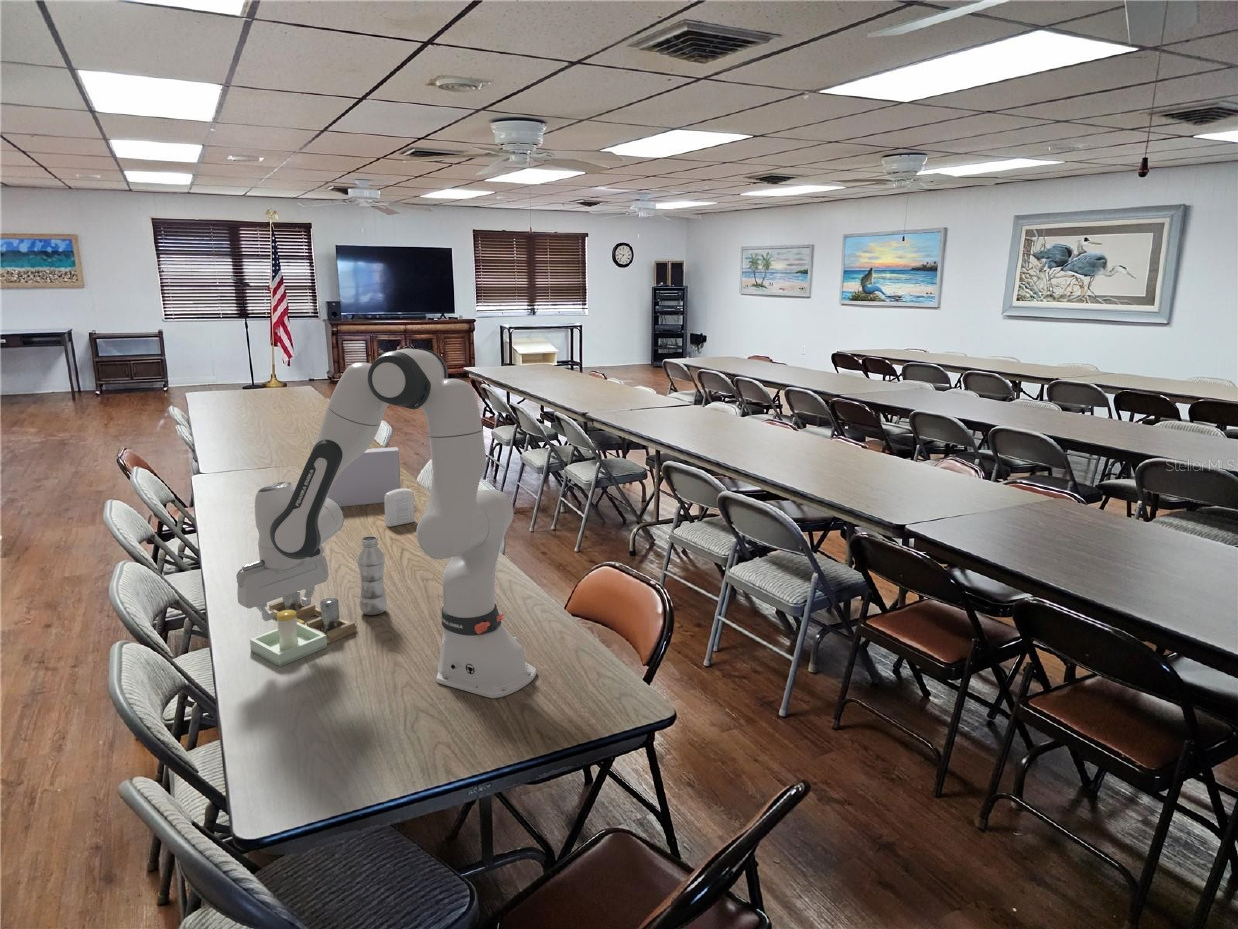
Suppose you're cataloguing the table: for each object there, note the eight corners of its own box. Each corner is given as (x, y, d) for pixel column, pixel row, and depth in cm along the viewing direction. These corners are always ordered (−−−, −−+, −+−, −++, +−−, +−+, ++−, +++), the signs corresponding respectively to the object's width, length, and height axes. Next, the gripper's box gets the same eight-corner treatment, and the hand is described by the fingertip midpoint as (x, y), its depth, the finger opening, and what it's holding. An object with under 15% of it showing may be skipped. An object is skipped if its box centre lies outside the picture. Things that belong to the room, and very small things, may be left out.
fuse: (302, 645, 173) (299, 613, 172) (285, 652, 170) (283, 619, 168) (292, 640, 176) (289, 608, 174) (275, 646, 172) (272, 614, 171)
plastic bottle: (359, 609, 195) (354, 535, 190) (386, 605, 197) (382, 533, 192) (360, 619, 189) (355, 544, 184) (388, 616, 191) (384, 541, 186)
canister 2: (343, 631, 182) (341, 600, 180) (329, 637, 179) (326, 606, 177) (333, 626, 185) (331, 596, 183) (319, 632, 181) (316, 602, 179)
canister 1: (304, 613, 191) (302, 584, 189) (290, 619, 188) (287, 589, 186) (295, 609, 193) (293, 580, 191) (281, 614, 190) (278, 585, 188)
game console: (323, 504, 280) (319, 451, 275) (398, 497, 291) (396, 446, 286) (324, 508, 275) (320, 455, 270) (401, 501, 286) (399, 450, 281)
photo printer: (410, 519, 266) (409, 485, 263) (416, 522, 263) (415, 488, 260) (383, 525, 259) (381, 490, 256) (389, 528, 256) (387, 493, 253)
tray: (326, 647, 175) (326, 635, 174) (280, 667, 165) (278, 654, 165) (297, 633, 181) (296, 621, 180) (250, 651, 172) (249, 639, 171)
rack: (356, 631, 182) (356, 622, 182) (328, 643, 176) (327, 633, 176) (296, 604, 196) (295, 595, 196) (268, 614, 190) (267, 605, 189)
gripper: (243, 571, 157) (251, 633, 160) (329, 544, 174) (334, 600, 177) (227, 565, 161) (235, 625, 164) (313, 539, 177) (318, 594, 180)
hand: (287, 612), depth 171 cm, fingers open, 8 cm apart
